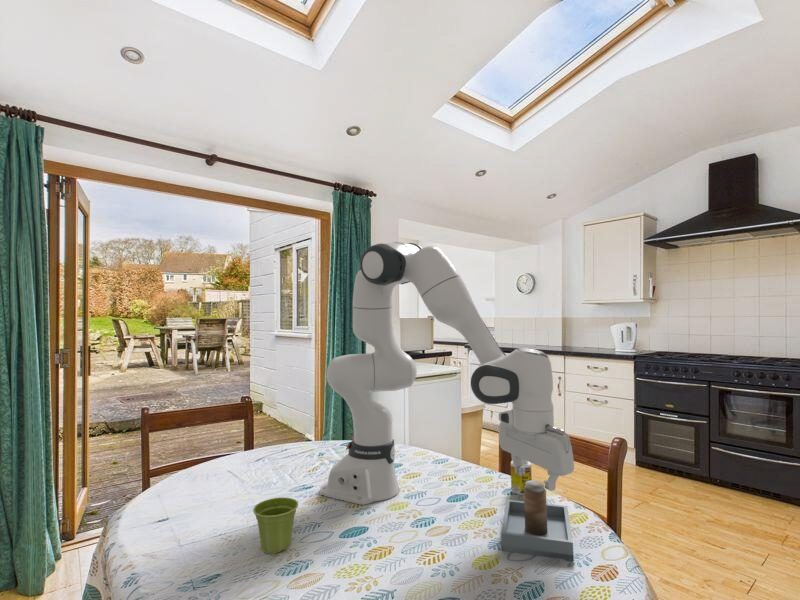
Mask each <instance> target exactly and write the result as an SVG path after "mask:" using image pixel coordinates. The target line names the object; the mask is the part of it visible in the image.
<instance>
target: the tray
mask: <svg viewBox="0 0 800 600" xmlns="http://www.w3.org/2000/svg"><path fill="white" fill-rule="evenodd" d="M505 501H506V502H505V508H504V514H503V520H502V527H501V533H500V534H501V535H500V540H501V542H500V543H501V551H504V552H511V553H518V554H525V555H533V556H539V557H547V558H551V559H552V558H553V559H559V560H561V559H562V560H566V561H567V560H568V561H574V543H573V542H574V541H573V535H572V529H571V523H570V514H569V510H568V505H559V504H551V503H546V504H547V530H548V532H547V534H545V535H541V536H537V535H532V534H530V533H528V532H527V531H526V530H525V513H524V500H523V501H522V500H514V499H512V500H511V499H506V500H505Z"/></svg>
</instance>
